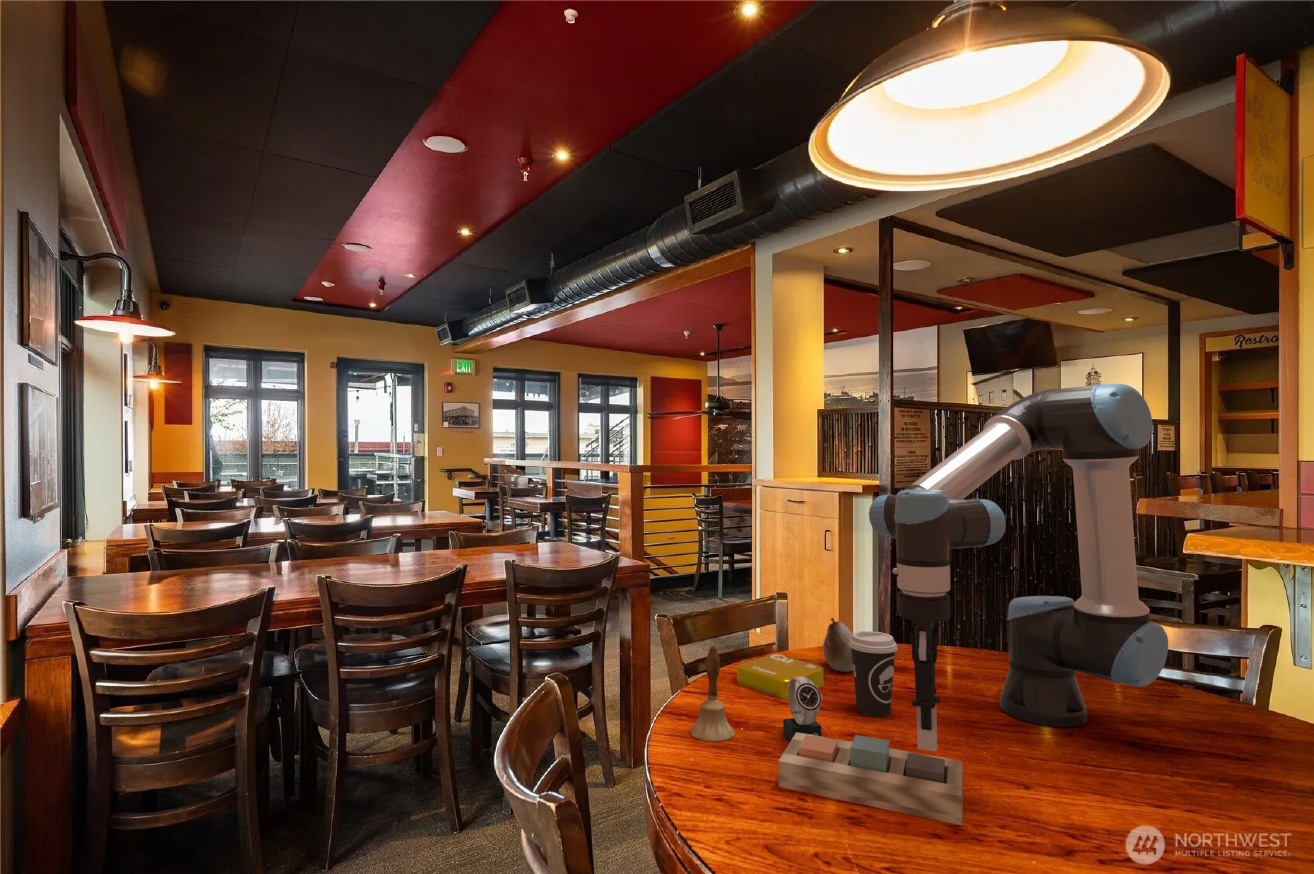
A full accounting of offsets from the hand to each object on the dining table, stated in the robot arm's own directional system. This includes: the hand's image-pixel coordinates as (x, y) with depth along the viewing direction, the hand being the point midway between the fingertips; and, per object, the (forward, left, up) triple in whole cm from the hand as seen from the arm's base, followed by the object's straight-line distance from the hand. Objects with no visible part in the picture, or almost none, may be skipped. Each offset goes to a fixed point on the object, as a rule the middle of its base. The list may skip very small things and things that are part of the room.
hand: (927, 747), depth 101 cm
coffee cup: (+12, -33, -8) cm, 36 cm away
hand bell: (+38, -9, -8) cm, 40 cm away
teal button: (+8, 0, -5) cm, 10 cm away
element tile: (+33, -41, -8) cm, 53 cm away
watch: (+22, -13, -8) cm, 26 cm away
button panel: (+8, 0, -7) cm, 11 cm away
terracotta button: (+16, 0, -6) cm, 17 cm away
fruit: (+22, -58, -8) cm, 62 cm away
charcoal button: (0, 0, -6) cm, 6 cm away
